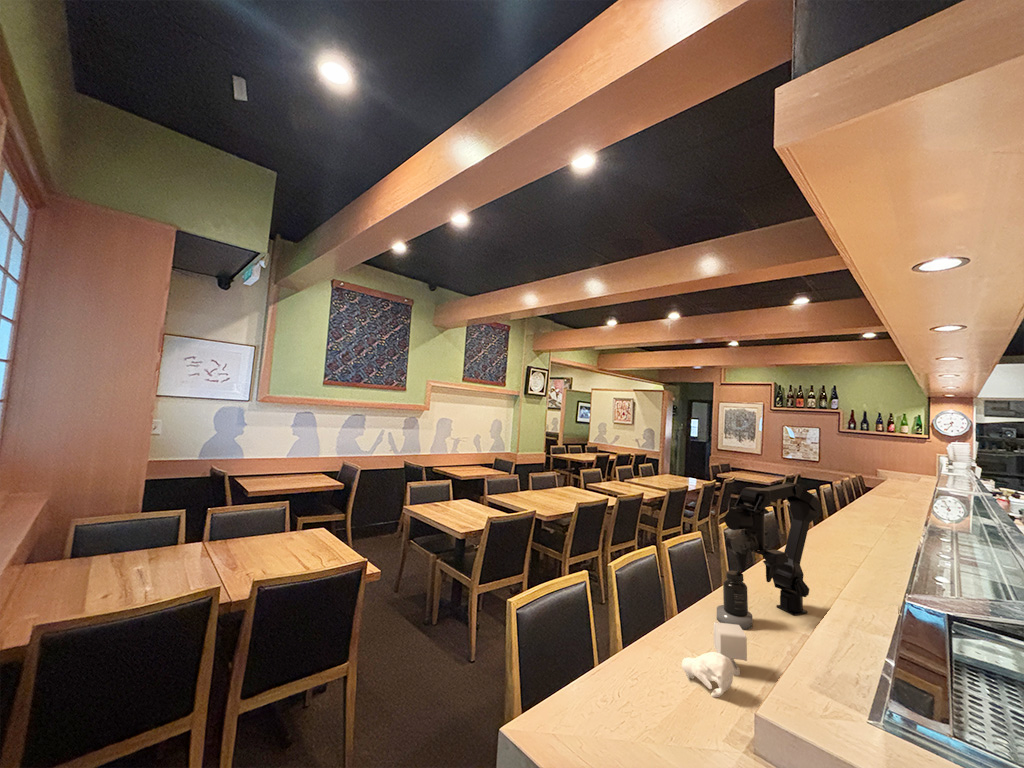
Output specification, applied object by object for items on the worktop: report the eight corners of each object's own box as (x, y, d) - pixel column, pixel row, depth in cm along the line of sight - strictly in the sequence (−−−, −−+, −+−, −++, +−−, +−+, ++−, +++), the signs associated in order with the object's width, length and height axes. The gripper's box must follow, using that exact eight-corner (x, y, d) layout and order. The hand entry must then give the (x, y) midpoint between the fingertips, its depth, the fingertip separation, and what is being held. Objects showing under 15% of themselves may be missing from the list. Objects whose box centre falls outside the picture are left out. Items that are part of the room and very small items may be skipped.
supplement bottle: (749, 611, 133) (749, 573, 134) (745, 619, 128) (745, 579, 129) (726, 605, 137) (725, 567, 138) (721, 612, 132) (720, 573, 133)
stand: (733, 612, 139) (733, 603, 139) (760, 627, 130) (760, 617, 130) (709, 616, 136) (709, 606, 136) (735, 631, 126) (734, 621, 127)
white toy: (723, 663, 95) (674, 645, 104) (727, 704, 94) (677, 682, 103) (735, 653, 99) (687, 637, 108) (739, 693, 98) (690, 673, 107)
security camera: (747, 678, 104) (746, 635, 105) (717, 673, 105) (716, 632, 106) (739, 663, 110) (738, 623, 111) (710, 659, 112) (710, 620, 112)
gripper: (712, 522, 143) (713, 569, 142) (762, 537, 126) (763, 591, 125) (737, 520, 147) (737, 565, 146) (788, 534, 130) (789, 586, 129)
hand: (755, 576), depth 137 cm, fingers open, 9 cm apart
